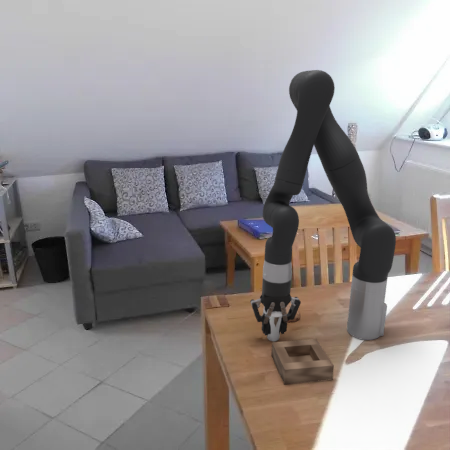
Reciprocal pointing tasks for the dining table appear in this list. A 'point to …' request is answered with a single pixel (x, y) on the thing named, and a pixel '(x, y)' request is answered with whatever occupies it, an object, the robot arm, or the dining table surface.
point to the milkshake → (274, 326)
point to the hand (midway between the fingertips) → (273, 333)
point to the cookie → (295, 315)
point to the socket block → (301, 361)
